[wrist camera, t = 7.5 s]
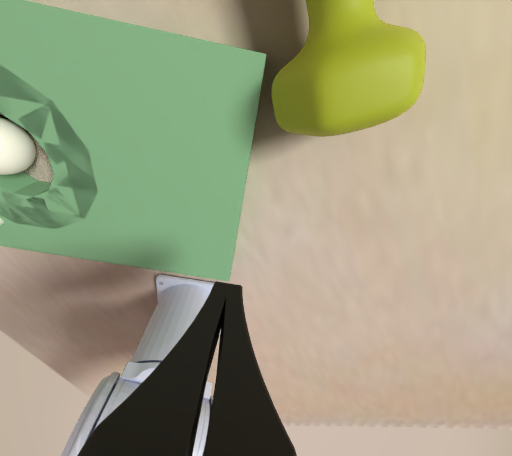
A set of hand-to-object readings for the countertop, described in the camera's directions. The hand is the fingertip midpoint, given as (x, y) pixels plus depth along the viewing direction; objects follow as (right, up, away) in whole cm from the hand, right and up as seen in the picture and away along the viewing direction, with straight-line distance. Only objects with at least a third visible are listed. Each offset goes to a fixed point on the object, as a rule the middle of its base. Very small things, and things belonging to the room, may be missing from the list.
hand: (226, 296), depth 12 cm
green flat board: (-10, +9, +7) cm, 15 cm away
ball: (-17, +9, +5) cm, 20 cm away
